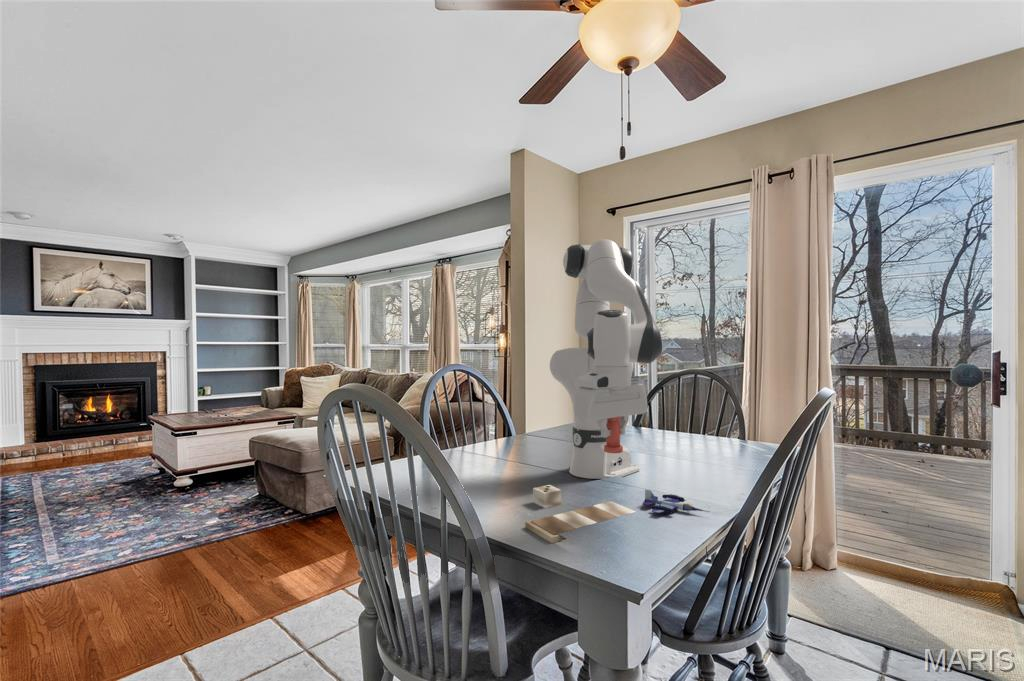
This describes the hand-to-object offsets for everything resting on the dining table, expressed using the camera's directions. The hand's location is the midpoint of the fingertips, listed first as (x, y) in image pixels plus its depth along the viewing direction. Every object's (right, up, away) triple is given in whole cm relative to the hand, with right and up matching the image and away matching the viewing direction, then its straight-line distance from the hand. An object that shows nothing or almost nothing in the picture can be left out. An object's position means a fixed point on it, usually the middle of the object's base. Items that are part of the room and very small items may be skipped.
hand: (613, 435), depth 115 cm
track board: (-7, -19, -5) cm, 21 cm away
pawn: (0, -4, 0) cm, 4 cm away
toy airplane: (+14, -19, -1) cm, 23 cm away
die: (-15, -19, +5) cm, 25 cm away
